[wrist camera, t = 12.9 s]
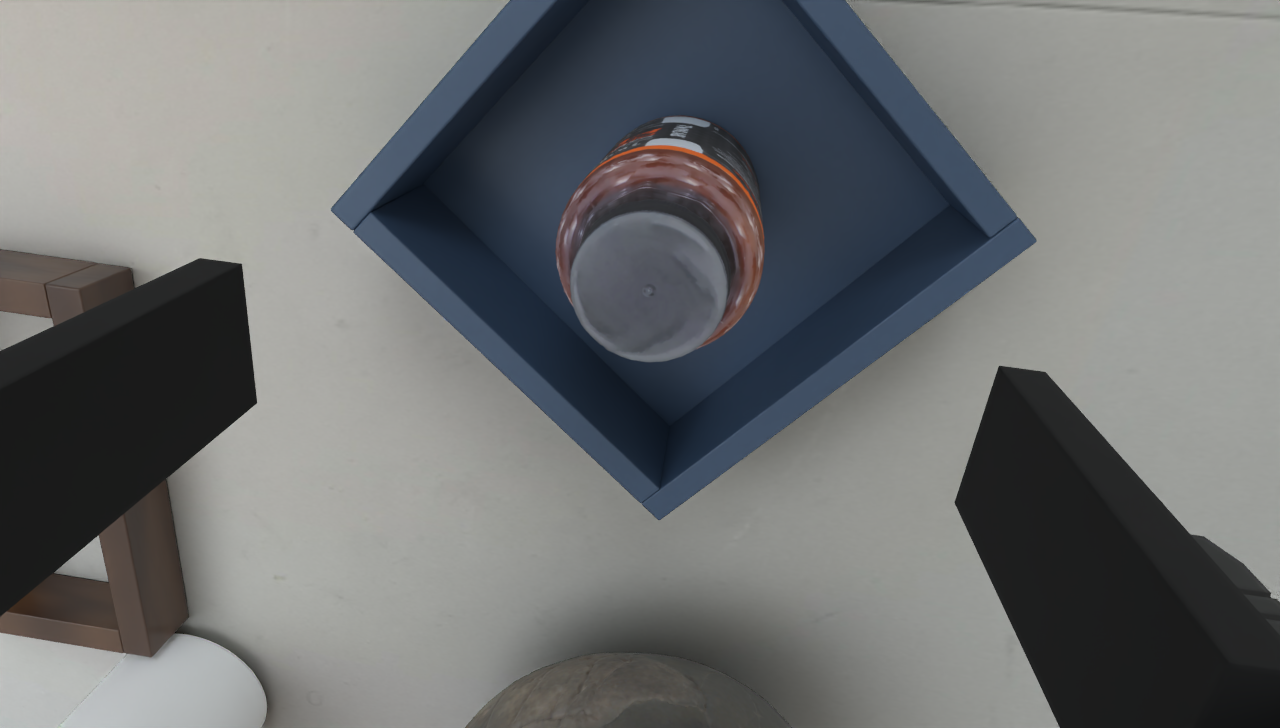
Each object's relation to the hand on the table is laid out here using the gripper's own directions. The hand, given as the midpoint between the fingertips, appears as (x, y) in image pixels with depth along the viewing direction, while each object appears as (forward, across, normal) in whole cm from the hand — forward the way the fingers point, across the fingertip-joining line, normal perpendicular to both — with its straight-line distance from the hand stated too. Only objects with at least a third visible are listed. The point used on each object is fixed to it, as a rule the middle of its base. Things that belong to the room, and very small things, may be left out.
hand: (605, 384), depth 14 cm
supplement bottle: (+18, 0, 0) cm, 18 cm away
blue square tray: (+18, 0, 0) cm, 18 cm away
